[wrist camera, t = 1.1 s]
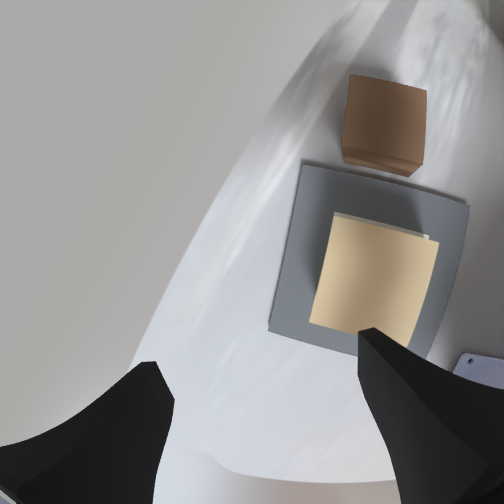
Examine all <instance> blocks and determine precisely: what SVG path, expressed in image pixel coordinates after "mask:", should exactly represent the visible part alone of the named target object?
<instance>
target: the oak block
mask: <svg viewBox="0 0 504 504" xmlns="http://www.w3.org/2000/svg"><path fill="white" fill-rule="evenodd" d="M438 247H439V242H436V241H432V240H428V239H425V238H421V237H418V236H414V235H410V234H406V233H403V232H399V231H395V230H391V229H387V228H383V227H379V226H375V225H371V224H367V223H363V222H359V221H355V220H350V219H346V218H342V217H337V216H334V219H333V223H332V228H331V233H330V238H329V242H328V247H327V251H326V256H325V260H324V264H323V269H322V273H321V277H320V281H319V285H318V289H317V293H316V297H315V301H314V304H313V308H312V312H311V316H310V319H309V322H310V323H314V324H317V325H321V326H324V327H328V328H332V329H335V330H339V331H343V332H347V333H351V334H355V335H358V331H361V330H365V329H369V328H372V327H375V328H377V329H378V330H380V331H381V332H383V333H384V334H386V335H387V336H389V337H390V338H392V339H393V340H395V341H396V342H398V343H399V344H401V345H402V346H404V347H407V346H408V344H409V341H410V339H411V336H412V333H413V331H414V328H415V325H416V323H417V320H418V317H419V314H420V311H421V308H422V305H423V302H424V299H425V296H426V292H427V289H428V286H429V282H430V278H431V275H432V271H433V267H434V263H435V259H436V255H437V251H438Z"/></svg>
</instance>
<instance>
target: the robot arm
mask: <svg viewBox="0 0 504 504" xmlns="http://www.w3.org/2000/svg"><path fill="white" fill-rule="evenodd" d="M471 358H472V360H471V361H470V362H468V361H469V359H471ZM358 378H359V381H360V384H361V387H362V391H363V394H364V397H365V399H366V401H367V404H368V406H369V408H370V410H371V413H372V415H373V417H374V419H375V421H376V423H377V426H378V428H379V430H380V432H381V435H382V437H383V439H384V441H385V444H386V446H387V449H388V452H389V454H390V458H391V461H392V465H393V469H394V472H395V476H396V480H397V484H398V489H399V493H400V498H401V504H504V359H498V358H493V357H487V356H481V355H476V354H471V353H464V354H462V355H461V356H460V358H459V360H458V362H457V365H456V367H455V369H454V371H453V373H451V372H449V371H446V370H444V369H442V368H440V367H438V366H436V365H434V364H433V363H431V362H429V361H427V360H425V359H423V358H422V357H420V356H418V355H417V354H415V353H413V352H412V351H410V350H408V349H407V348H405V347H404V346H402V345H401V344H399V343H398V342H396V341H395V340H393V339H392V338H390V337H389V336H387V335H386V334H384V333H383V332H381V331H380V330H378V329H377V328H375V327H372V328H369V329H365V330H361V331H358ZM174 401H175V399H174V397H173V395H172V394H171V392H170V390H169V388H168V386H167V384H166V382H165V380H164V378H163V376H162V374H161V372H160V369H159V367H158V365H157V363H156V361H153V362H141V363H140V364H138V365H137V366H136V367H134V368H133V369H132V370H131V371H130V372H128V373H127V374H126V375H125V376H124V377H123V378H121V379H120V380H119V381H118V382H117V383H116V384H114V386H112V387H111V388H110V389H109V390H107V391H106V392H105V393H104V394H103V395H101V396H100V397H99V398H98V399H96V400H95V401H94V402H93V403H91V404H90V405H89V406H87V407H86V408H85V409H83V410H82V411H81V412H79V413H78V414H76V415H75V416H73V417H72V418H70V419H68V420H67V421H65V422H64V423H62V424H60V425H58V426H56V427H55V428H53V429H50V430H48V431H46V432H44V433H42V434H40V435H38V436H35V437H33V438H30V439H28V440H25V441H21V442H18V443H15V444H11V445H7V446H2V447H0V490H1V491H2V492H4V493H5V494H6V495H7V496H9V497H10V498H11V499H12V500H14V501H15V502H16V504H152V503H153V493H154V487H155V479H156V474H157V470H158V466H159V462H160V459H161V456H162V453H163V449H164V446H165V443H166V439H167V436H168V432H169V429H170V426H171V422H172V416H173V409H174ZM0 504H9V503H8V502H7V501H6V500H5V499H3V498H2V497H1V496H0Z"/></svg>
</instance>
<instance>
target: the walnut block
mask: <svg viewBox="0 0 504 504" xmlns="http://www.w3.org/2000/svg"><path fill="white" fill-rule="evenodd" d="M426 106H427V91H426V90H423V89H419V88H415V87H411V86H407V85H403V84H399V83H395V82H390V81H385V80H380V79H375V78H370V77H364V76H358V75H351V74H350V79H349V88H348V97H347V106H346V114H345V122H344V129H343V136H342V143H341V147H342V152H343V156H344V161H345V163H349V164H354V165H359V166H364V167H368V168H373V169H377V170H381V171H386V172H390V173H394V174H398V175H402V176H405V177H409V176H410V175H411V174H413V173H414V172H415V171H416V170H417V169H418V168H419V167H420V166H421V165H422V164H423V157H424V146H425V132H426Z"/></svg>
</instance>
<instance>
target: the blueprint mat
mask: <svg viewBox="0 0 504 504" xmlns="http://www.w3.org/2000/svg"><path fill="white" fill-rule="evenodd" d="M469 207H470V206H469V205H466V204H463V203H460V202H457V201H454V200H451V199H448V198H445V197H441V196H438V195H435V194H431V193H428V192H424V191H421V190H417V189H414V188H410V187H406V186H402V185H399V184H395V183H391V182H387V181H383V180H378V179H374V178H370V177H365V176H361V175H356V174H351V173H347V172H342V171H336V170H331V169H326V168H321V167H315V166H309V165H303V164H302V169H301V174H300V180H299V185H298V190H297V196H296V201H295V206H294V211H293V216H292V221H291V226H290V231H289V236H288V241H287V246H286V251H285V256H284V260H283V265H282V270H281V274H280V279H279V284H278V288H277V293H276V297H275V302H274V306H273V311H272V315H271V319H270V324H269V328H268V331H269V332H273V333H276V334H279V335H282V336H285V337H289V338H292V339H295V340H299V341H302V342H306V343H309V344H312V345H316V346H320V347H323V348H327V349H330V350H334V351H338V352H342V353H345V354H349V355H353V356H357V357H358V335H355V334H351V333H347V332H343V331H339V330H335V329H332V328H328V327H324V326H321V325H317V324H314V323H310V322H309V319H310V316H311V312H312V308H313V304H314V301H315V297H316V293H317V289H318V285H319V281H320V277H321V273H322V269H323V264H324V260H325V256H326V251H327V247H328V242H329V238H330V233H331V228H332V223H333V219H334V216H337V217H342V218H346V219H350V220H355V221H359V222H363V223H367V224H371V225H375V226H379V227H383V228H387V229H391V230H395V231H399V232H403V233H406V234H410V235H414V236H418V237H421V238H425V239H428V240H432V241H436V242H439V247H438V251H437V255H436V259H435V263H434V267H433V271H432V275H431V278H430V282H429V286H428V289H427V292H426V296H425V299H424V302H423V305H422V308H421V311H420V314H419V317H418V320H417V323H416V325H415V328H414V331H413V333H412V336H411V339H410V341H409V344H408V346H407V347H405V348H407V349H408V350H410V351H412V352H413V353H415V354H417V355H418V356H420V357H422V358H423V359H425V360H426V357H427V355H428V353H429V350H430V348H431V346H432V343H433V341H434V338H435V336H436V333H437V330H438V328H439V325H440V322H441V320H442V317H443V314H444V311H445V308H446V305H447V302H448V299H449V296H450V292H451V289H452V286H453V282H454V279H455V275H456V271H457V267H458V263H459V259H460V255H461V251H462V246H463V241H464V236H465V231H466V225H467V220H468V213H469Z"/></svg>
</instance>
